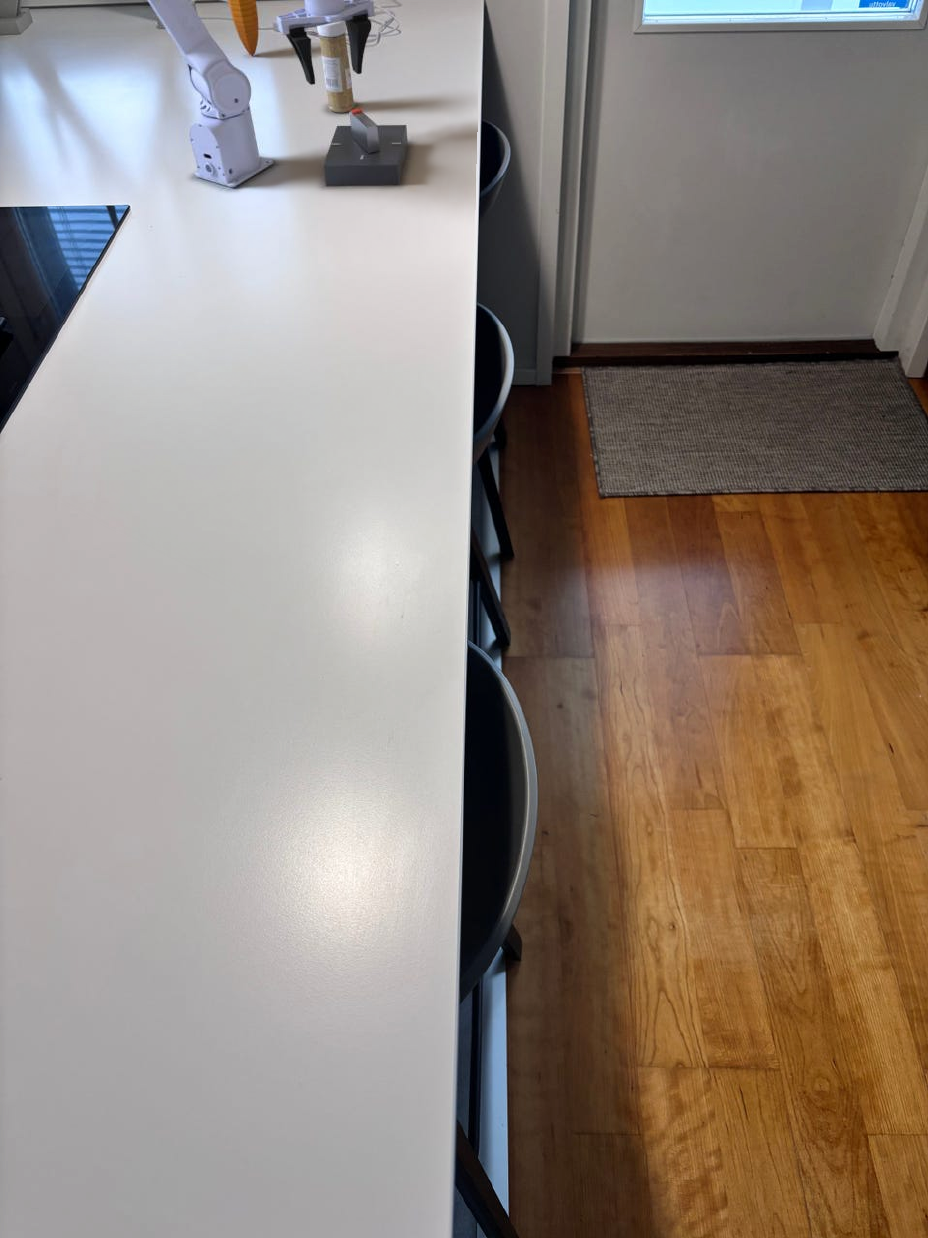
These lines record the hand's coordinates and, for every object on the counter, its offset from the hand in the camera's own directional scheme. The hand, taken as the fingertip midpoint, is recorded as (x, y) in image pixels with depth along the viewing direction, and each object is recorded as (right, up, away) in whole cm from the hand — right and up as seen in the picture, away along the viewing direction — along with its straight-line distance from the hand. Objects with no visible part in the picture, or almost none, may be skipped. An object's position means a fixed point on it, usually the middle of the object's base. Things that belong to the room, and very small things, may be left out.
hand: (334, 76), depth 146 cm
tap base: (+5, -13, +1) cm, 14 cm away
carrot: (-20, +23, +33) cm, 44 cm away
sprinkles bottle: (-1, +3, +16) cm, 16 cm away
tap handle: (+5, -11, -1) cm, 12 cm away
